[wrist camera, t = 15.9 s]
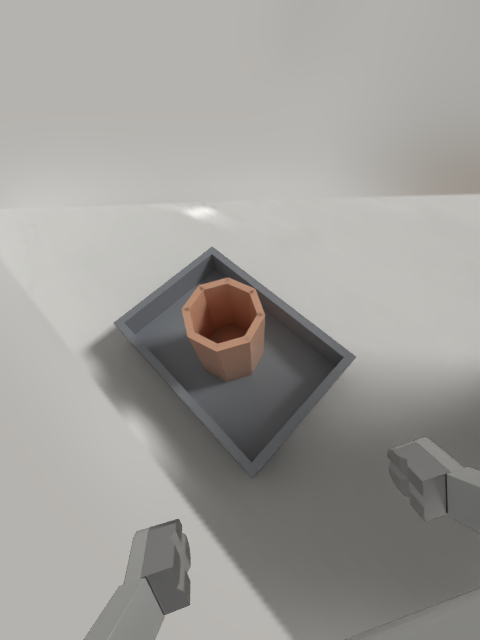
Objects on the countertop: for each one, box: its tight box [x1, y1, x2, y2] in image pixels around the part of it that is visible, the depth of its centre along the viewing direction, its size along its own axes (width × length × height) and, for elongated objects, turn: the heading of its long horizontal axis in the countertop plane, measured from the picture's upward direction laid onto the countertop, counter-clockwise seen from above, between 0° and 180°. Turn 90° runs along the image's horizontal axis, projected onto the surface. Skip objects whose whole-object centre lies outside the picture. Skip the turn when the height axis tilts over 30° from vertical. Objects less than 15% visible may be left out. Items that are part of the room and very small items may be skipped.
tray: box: [114, 247, 356, 478], centre depth 30 cm, size 20×14×4 cm
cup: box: [182, 278, 265, 382], centre depth 27 cm, size 6×6×8 cm
